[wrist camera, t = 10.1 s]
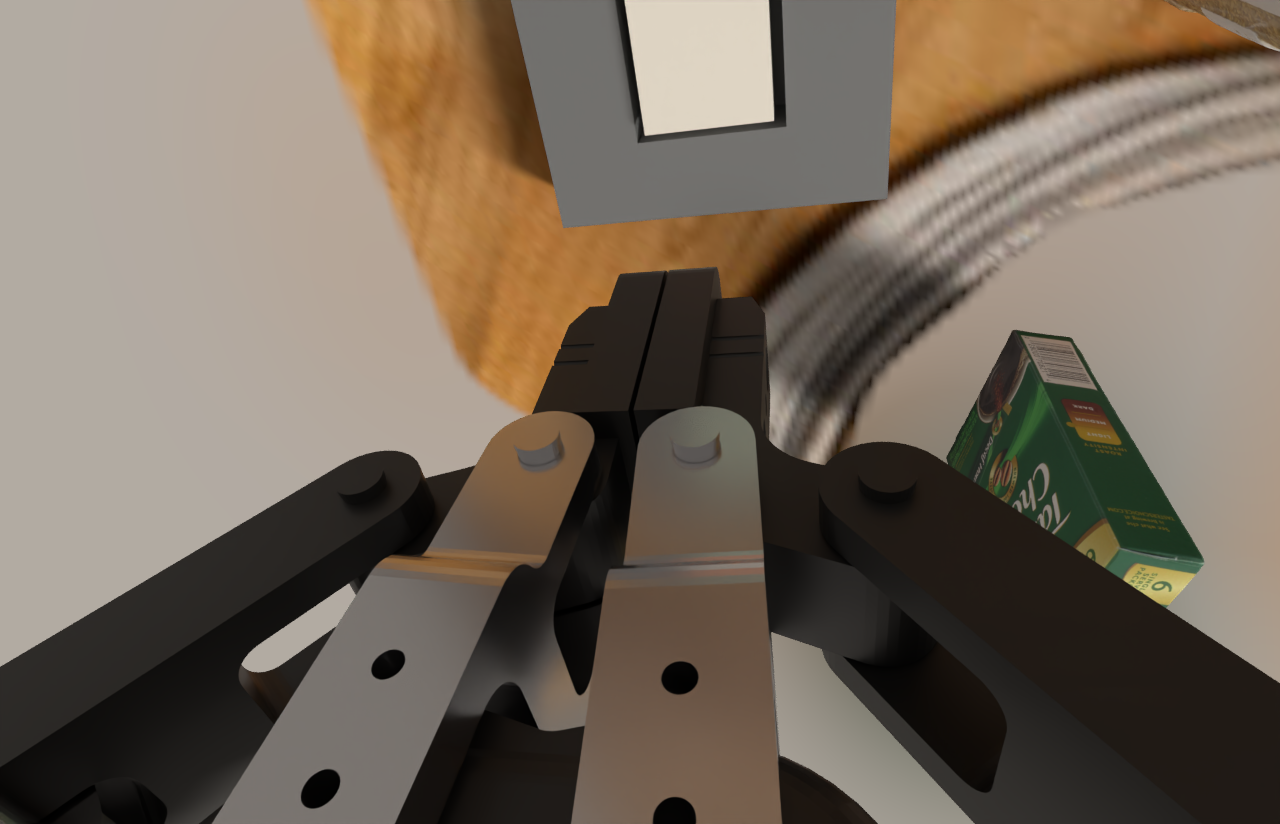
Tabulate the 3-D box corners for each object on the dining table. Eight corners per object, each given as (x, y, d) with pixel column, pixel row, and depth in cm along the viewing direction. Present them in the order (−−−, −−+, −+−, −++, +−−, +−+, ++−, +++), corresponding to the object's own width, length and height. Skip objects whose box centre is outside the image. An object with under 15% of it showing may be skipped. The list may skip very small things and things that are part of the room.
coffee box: (1011, 318, 32) (1120, 552, 22) (1078, 330, 32) (1220, 570, 22) (940, 455, 37) (1003, 696, 27) (998, 466, 37) (1083, 712, 27)
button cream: (767, -44, 24) (767, -30, 22) (774, 96, 27) (774, 121, 25) (636, -23, 25) (623, -8, 23) (654, 110, 28) (644, 135, 26)
